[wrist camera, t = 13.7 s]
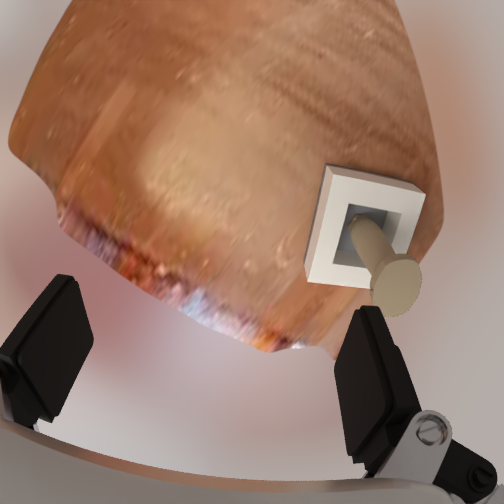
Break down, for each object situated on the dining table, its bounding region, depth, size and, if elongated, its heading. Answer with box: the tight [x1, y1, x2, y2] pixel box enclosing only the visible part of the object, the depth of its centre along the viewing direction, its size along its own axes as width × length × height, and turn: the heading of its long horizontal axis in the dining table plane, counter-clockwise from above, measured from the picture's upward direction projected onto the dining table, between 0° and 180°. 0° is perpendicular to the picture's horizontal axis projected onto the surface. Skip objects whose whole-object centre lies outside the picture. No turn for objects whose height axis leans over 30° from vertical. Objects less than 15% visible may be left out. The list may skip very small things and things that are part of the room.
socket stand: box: [304, 164, 426, 289], centre depth 39 cm, size 14×12×5 cm
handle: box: [348, 214, 422, 317], centre depth 34 cm, size 5×6×15 cm
